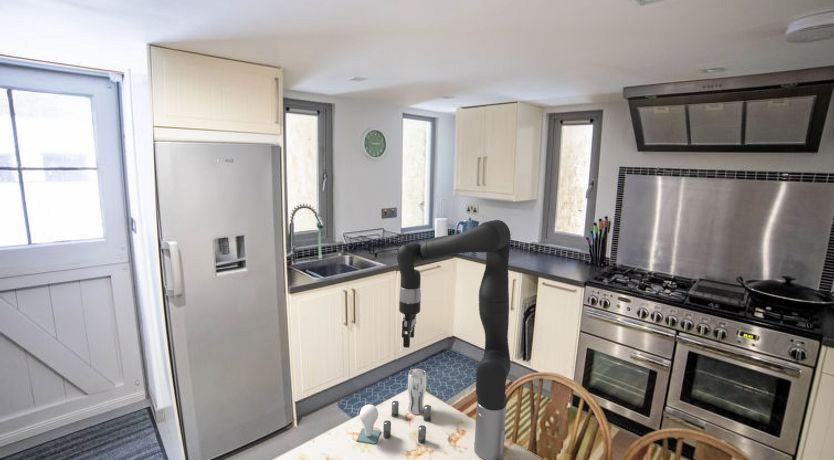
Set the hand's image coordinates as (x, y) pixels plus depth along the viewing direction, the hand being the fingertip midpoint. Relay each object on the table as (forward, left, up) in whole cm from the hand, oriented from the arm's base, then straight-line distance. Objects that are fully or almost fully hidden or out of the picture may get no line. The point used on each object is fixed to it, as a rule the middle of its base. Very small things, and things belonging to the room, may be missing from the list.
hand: (408, 342), depth 146 cm
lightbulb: (+10, +16, -28) cm, 34 cm away
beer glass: (-3, -3, -28) cm, 29 cm away
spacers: (-2, +8, -28) cm, 29 cm away
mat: (+10, +16, -28) cm, 34 cm away
